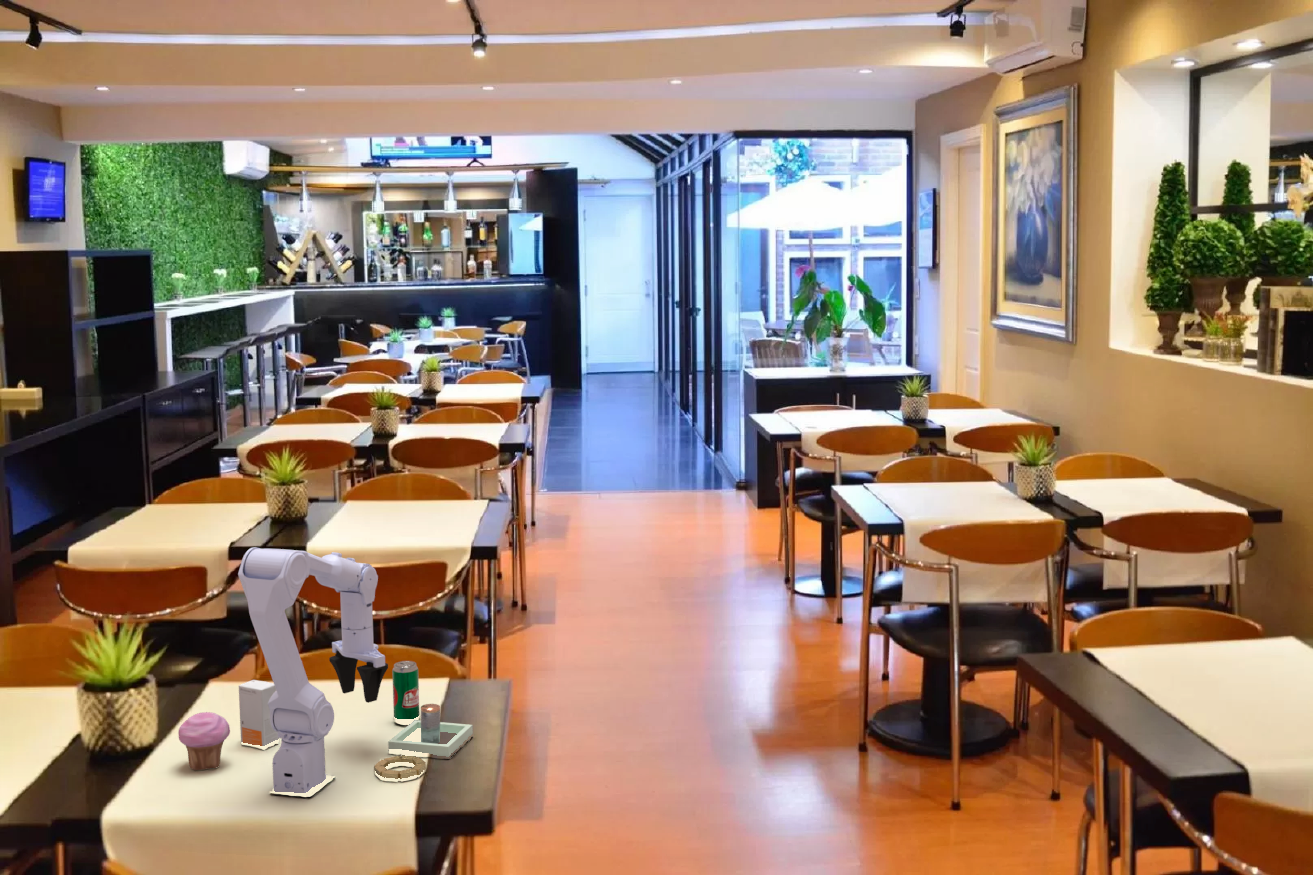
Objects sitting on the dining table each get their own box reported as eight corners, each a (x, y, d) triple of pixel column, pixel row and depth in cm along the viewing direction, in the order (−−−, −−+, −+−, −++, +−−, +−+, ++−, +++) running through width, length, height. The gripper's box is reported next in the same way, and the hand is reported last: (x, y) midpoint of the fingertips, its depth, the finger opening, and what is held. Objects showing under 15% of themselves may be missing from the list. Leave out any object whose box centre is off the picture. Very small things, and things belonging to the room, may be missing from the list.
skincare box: (240, 745, 253) (237, 685, 252) (256, 738, 257) (253, 678, 256) (264, 751, 251) (261, 689, 249) (280, 743, 254) (277, 683, 253)
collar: (412, 784, 234) (412, 775, 234) (367, 779, 237) (367, 771, 236) (432, 766, 243) (431, 757, 243) (388, 762, 245) (388, 753, 245)
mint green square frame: (448, 759, 246) (448, 746, 246) (388, 754, 249) (388, 741, 248) (472, 737, 257) (472, 724, 257) (415, 732, 260) (414, 719, 260)
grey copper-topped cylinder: (444, 742, 253) (444, 706, 252) (429, 747, 250) (429, 711, 250) (431, 737, 256) (431, 702, 255) (416, 742, 253) (416, 706, 252)
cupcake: (178, 777, 238) (175, 723, 237) (182, 760, 246) (179, 708, 245) (230, 772, 240) (228, 718, 239) (232, 755, 249) (229, 703, 247)
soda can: (405, 728, 263) (404, 669, 261) (388, 723, 266) (386, 664, 264) (425, 721, 267) (423, 663, 265) (407, 716, 270) (406, 658, 268)
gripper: (398, 628, 246) (400, 699, 248) (353, 614, 256) (355, 683, 258) (365, 636, 241) (368, 709, 243) (321, 621, 251) (324, 691, 253)
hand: (359, 696), depth 250 cm, fingers open, 7 cm apart
